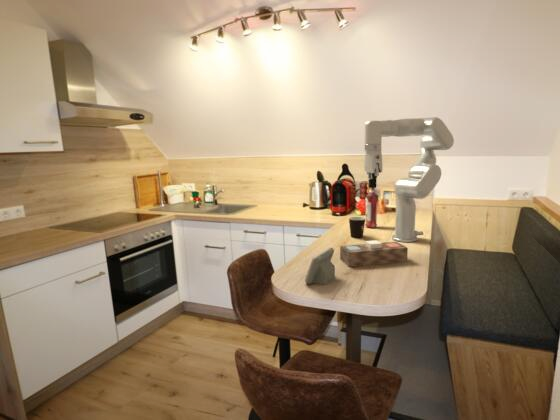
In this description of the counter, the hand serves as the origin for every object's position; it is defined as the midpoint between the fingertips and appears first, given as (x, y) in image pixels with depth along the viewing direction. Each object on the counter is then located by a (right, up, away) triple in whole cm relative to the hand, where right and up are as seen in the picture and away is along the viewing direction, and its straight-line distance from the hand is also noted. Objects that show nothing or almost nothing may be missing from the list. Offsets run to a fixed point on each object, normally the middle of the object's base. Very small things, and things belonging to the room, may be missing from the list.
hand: (372, 187), depth 170 cm
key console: (-4, -32, -15) cm, 36 cm away
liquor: (+11, -21, +45) cm, 51 cm away
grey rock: (-29, -37, -35) cm, 58 cm away
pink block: (+5, -30, -14) cm, 33 cm away
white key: (-4, -28, -16) cm, 33 cm away
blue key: (-13, -31, -17) cm, 37 cm away
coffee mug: (-1, -25, +25) cm, 35 cm away
